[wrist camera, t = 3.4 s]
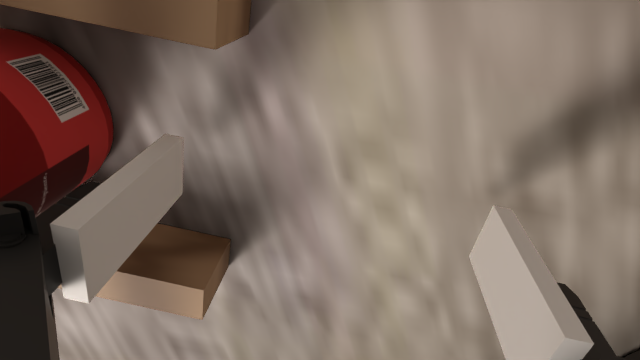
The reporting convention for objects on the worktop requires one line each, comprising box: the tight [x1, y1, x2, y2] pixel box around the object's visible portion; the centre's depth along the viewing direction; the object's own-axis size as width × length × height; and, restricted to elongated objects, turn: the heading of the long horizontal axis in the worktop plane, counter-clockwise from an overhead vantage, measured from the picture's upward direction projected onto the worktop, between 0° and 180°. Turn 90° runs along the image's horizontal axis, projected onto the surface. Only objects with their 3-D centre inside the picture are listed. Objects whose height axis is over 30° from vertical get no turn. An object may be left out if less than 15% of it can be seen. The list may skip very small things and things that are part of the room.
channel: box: [0, 0, 251, 320], centre depth 17 cm, size 19×15×4 cm
